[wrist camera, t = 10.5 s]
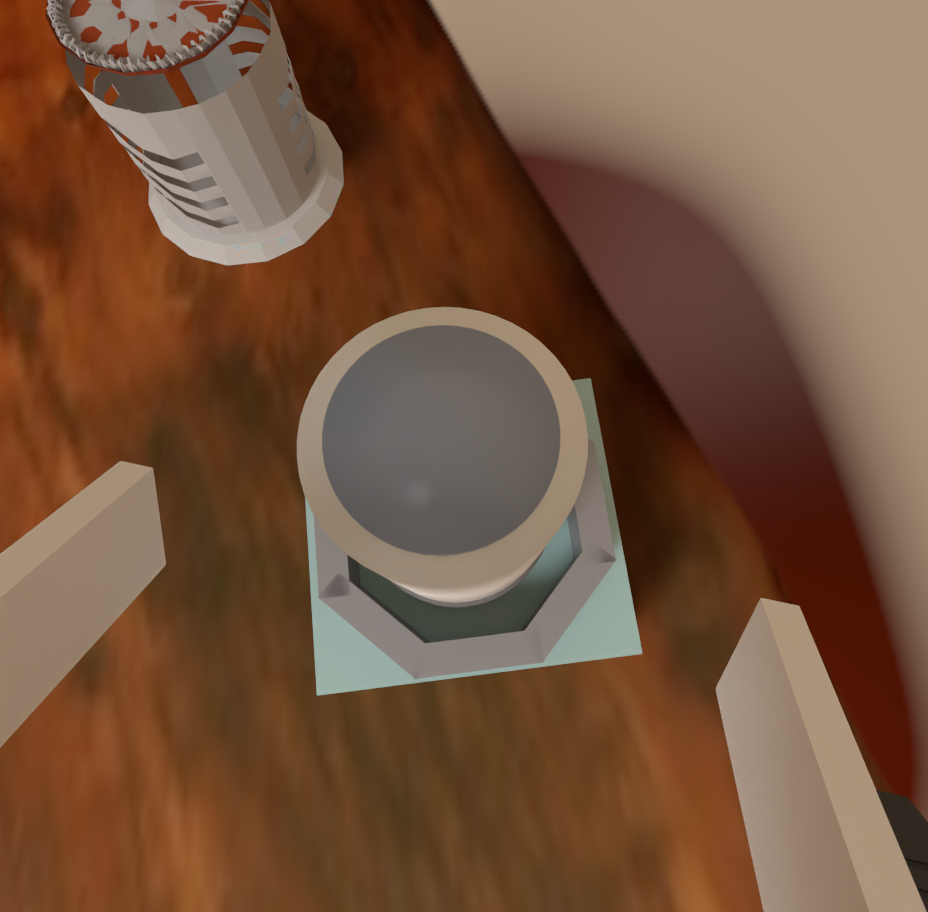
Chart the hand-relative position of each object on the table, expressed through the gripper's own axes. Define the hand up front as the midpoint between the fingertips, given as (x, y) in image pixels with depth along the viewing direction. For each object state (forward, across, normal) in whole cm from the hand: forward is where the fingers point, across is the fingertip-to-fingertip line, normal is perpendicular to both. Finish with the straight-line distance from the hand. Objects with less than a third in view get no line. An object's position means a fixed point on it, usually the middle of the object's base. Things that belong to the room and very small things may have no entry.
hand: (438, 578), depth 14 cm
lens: (+8, 0, -4) cm, 9 cm away
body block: (+10, 0, -7) cm, 13 cm away
